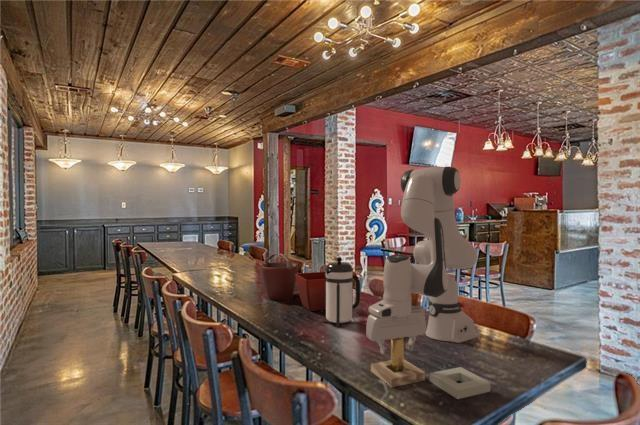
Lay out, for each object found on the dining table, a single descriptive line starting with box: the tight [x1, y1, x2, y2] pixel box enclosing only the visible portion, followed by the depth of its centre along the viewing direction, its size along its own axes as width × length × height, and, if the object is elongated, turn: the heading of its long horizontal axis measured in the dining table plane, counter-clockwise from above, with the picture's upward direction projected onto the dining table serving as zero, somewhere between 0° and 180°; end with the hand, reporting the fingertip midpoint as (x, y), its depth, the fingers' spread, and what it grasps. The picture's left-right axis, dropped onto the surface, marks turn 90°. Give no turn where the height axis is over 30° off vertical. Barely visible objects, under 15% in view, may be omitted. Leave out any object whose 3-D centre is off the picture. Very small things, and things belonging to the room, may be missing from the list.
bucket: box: [259, 253, 299, 301], centre depth 230 cm, size 24×22×25 cm
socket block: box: [429, 366, 491, 400], centre depth 116 cm, size 12×12×2 cm
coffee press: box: [322, 256, 361, 328], centre depth 180 cm, size 17×16×30 cm
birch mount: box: [370, 359, 426, 388], centre depth 123 cm, size 12×12×2 cm
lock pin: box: [390, 337, 405, 373], centre depth 123 cm, size 4×4×12 cm
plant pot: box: [295, 271, 326, 312], centre depth 206 cm, size 19×19×17 cm
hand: (396, 351), depth 123 cm, fingers open, 8 cm apart
